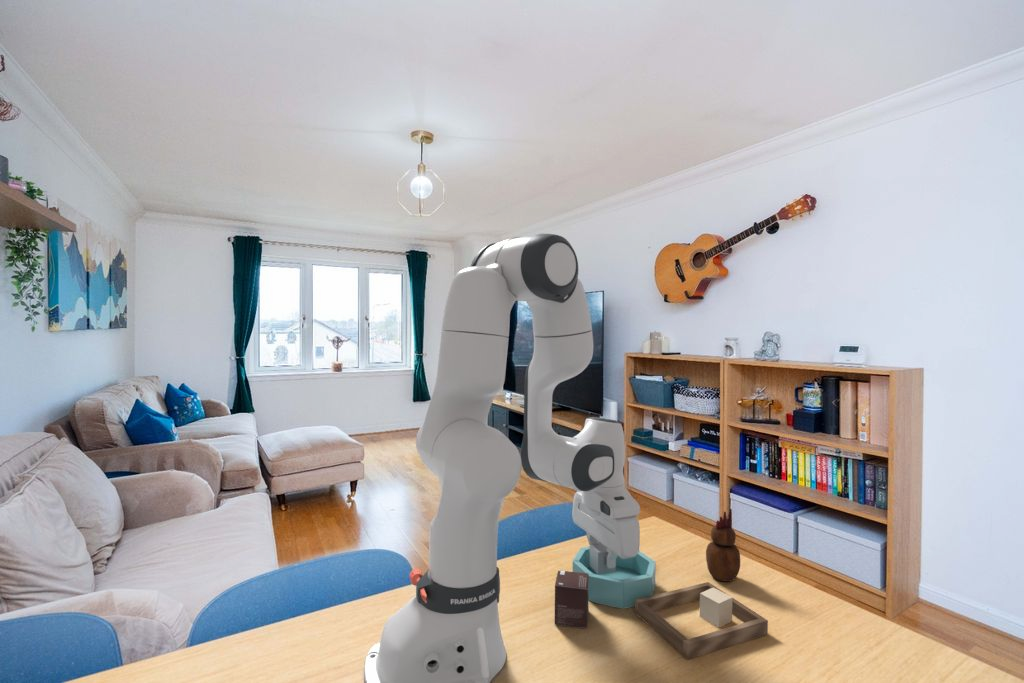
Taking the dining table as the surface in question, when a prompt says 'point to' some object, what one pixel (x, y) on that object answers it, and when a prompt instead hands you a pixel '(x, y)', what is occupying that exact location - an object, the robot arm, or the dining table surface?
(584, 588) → the box
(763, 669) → the dining table surface
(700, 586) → the frame
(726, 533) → the wooden figurine
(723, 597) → the beige matte cube
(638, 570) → the bowl
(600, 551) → the pale grey cube
